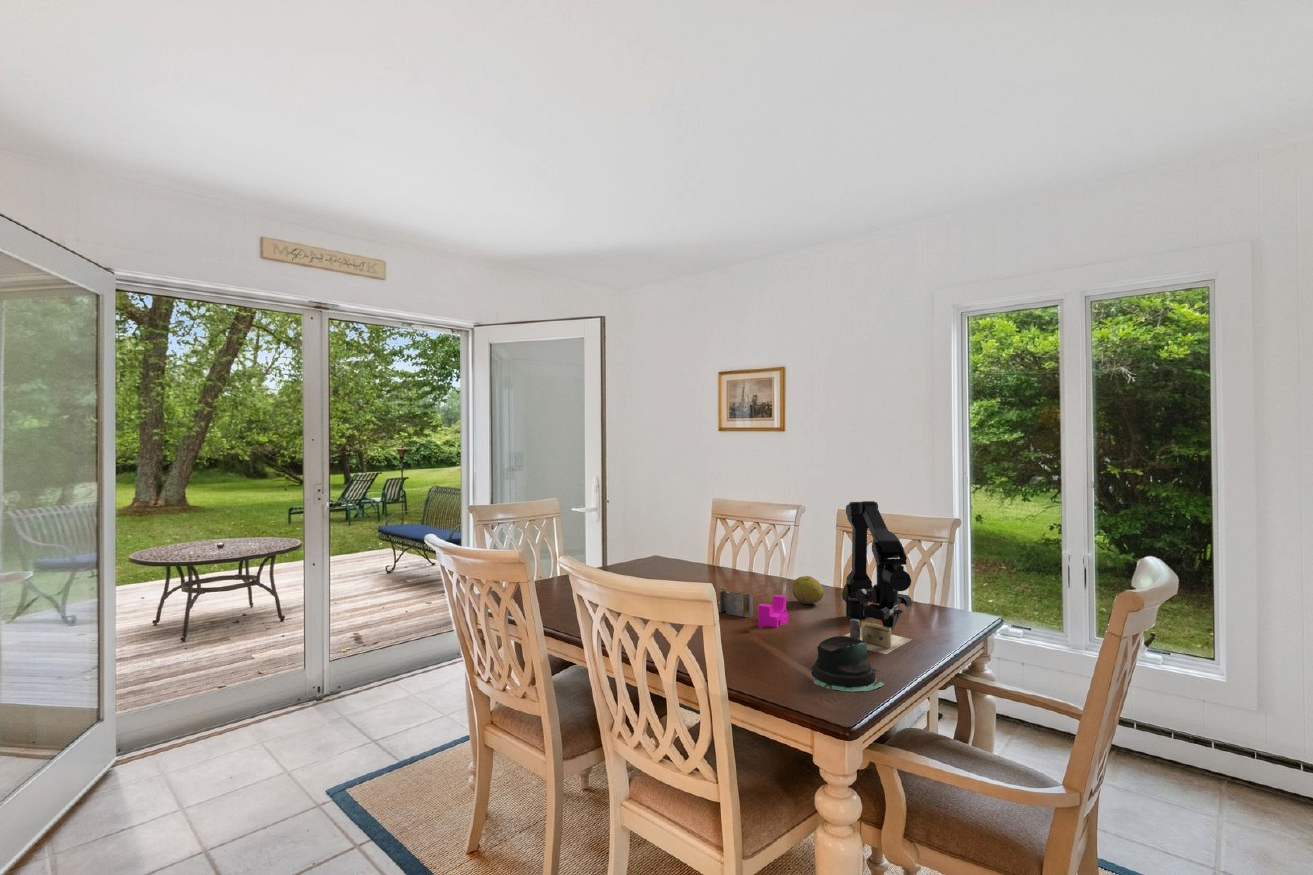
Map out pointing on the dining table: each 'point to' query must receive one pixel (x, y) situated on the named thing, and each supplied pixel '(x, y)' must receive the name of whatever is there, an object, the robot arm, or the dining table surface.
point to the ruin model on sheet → (736, 603)
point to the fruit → (807, 590)
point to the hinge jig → (875, 638)
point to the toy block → (773, 612)
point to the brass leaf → (877, 628)
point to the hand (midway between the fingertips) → (888, 635)
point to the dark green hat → (844, 665)
